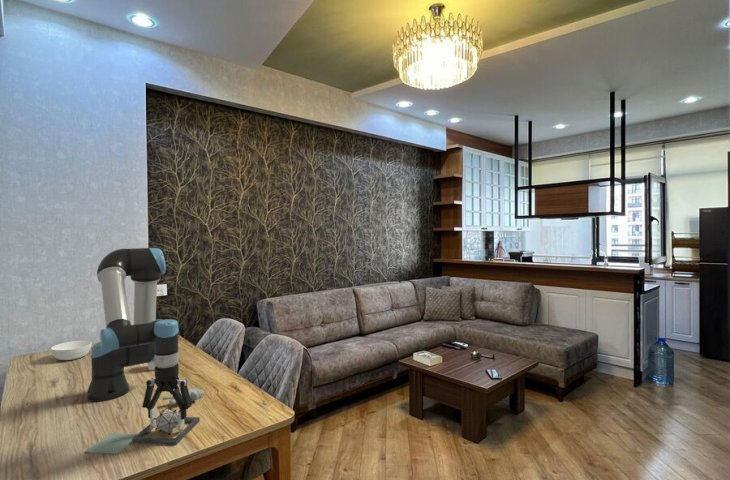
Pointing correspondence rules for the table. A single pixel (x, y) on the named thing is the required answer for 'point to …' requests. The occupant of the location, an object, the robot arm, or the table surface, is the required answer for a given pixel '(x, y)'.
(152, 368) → the mug
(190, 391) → the grey teddy bear
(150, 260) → the robot arm
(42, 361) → the table surface
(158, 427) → the game die
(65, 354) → the bowl
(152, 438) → the socket frame
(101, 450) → the pad
